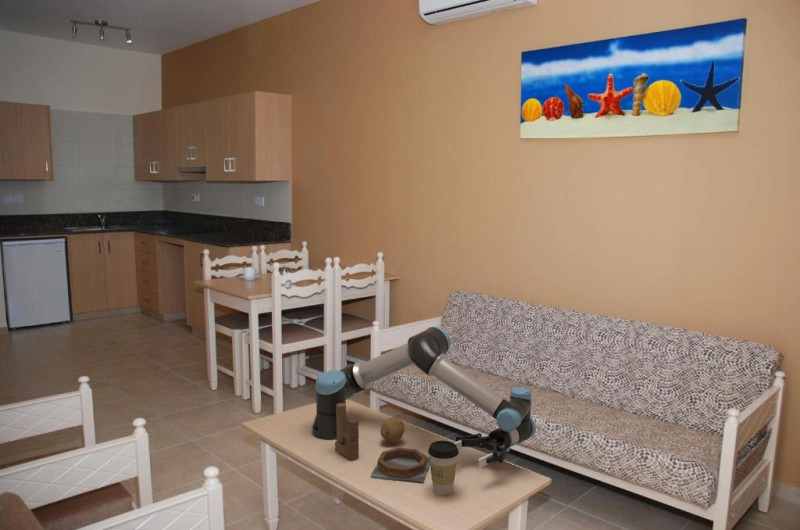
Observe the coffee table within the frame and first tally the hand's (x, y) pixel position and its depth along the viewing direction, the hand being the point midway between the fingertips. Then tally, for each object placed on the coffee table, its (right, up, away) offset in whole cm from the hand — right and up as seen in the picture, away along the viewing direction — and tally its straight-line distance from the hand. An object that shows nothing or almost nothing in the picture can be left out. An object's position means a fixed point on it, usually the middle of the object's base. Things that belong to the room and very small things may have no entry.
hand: (462, 456), depth 200 cm
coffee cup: (-7, -9, -5) cm, 13 cm away
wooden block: (-40, -6, +21) cm, 46 cm away
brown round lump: (-24, -5, +30) cm, 39 cm away
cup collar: (-20, -7, +10) cm, 23 cm away
